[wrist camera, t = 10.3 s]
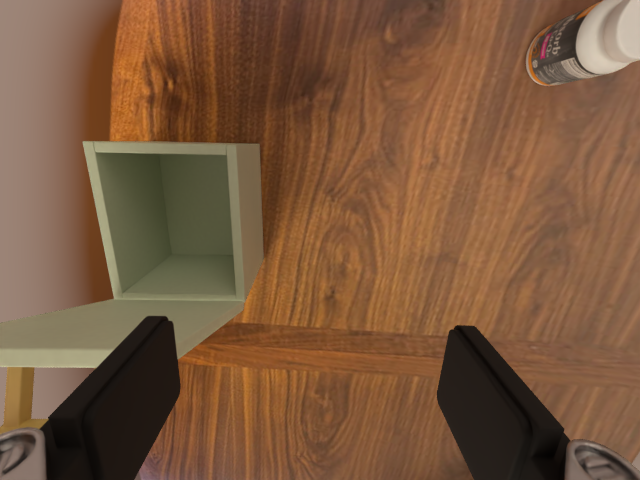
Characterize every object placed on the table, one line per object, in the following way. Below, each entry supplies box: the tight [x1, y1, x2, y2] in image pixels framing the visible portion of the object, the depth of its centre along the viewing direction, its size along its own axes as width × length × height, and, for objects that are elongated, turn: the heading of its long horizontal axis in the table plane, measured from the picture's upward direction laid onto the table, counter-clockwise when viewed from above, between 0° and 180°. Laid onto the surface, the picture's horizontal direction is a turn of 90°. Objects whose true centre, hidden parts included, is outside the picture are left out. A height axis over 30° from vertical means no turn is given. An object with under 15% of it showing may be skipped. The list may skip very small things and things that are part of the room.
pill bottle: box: [526, 0, 640, 86], centre depth 27 cm, size 6×6×10 cm
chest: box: [83, 141, 264, 302], centre depth 31 cm, size 14×12×11 cm
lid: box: [0, 299, 244, 434], centre depth 20 cm, size 14×12×6 cm
